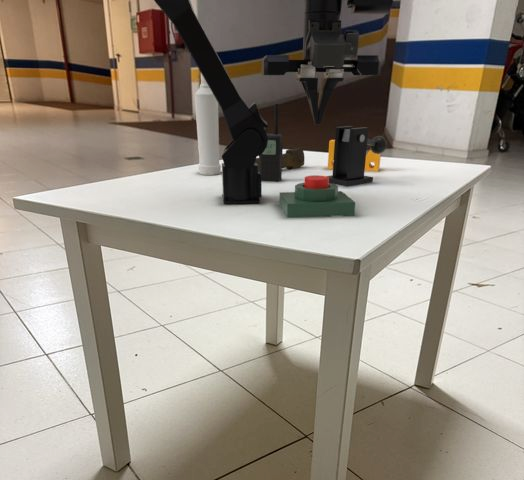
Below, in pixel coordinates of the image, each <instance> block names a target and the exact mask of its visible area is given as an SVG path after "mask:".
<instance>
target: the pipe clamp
mask: <svg viewBox="0 0 524 480" xmlns="http://www.w3.org/2000/svg"><path fill="white" fill-rule="evenodd" d="M334 146H335V139H330V140H329V142H328V156H327V170H333V161H334ZM372 163H373V164H374V165H372ZM380 165H381V154H375V153H373V152H372V151H371V149H370V148H369V151H368V152H367V153H366V161H365V171H364V172H366V171H367V172H379V170H380Z"/></svg>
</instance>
